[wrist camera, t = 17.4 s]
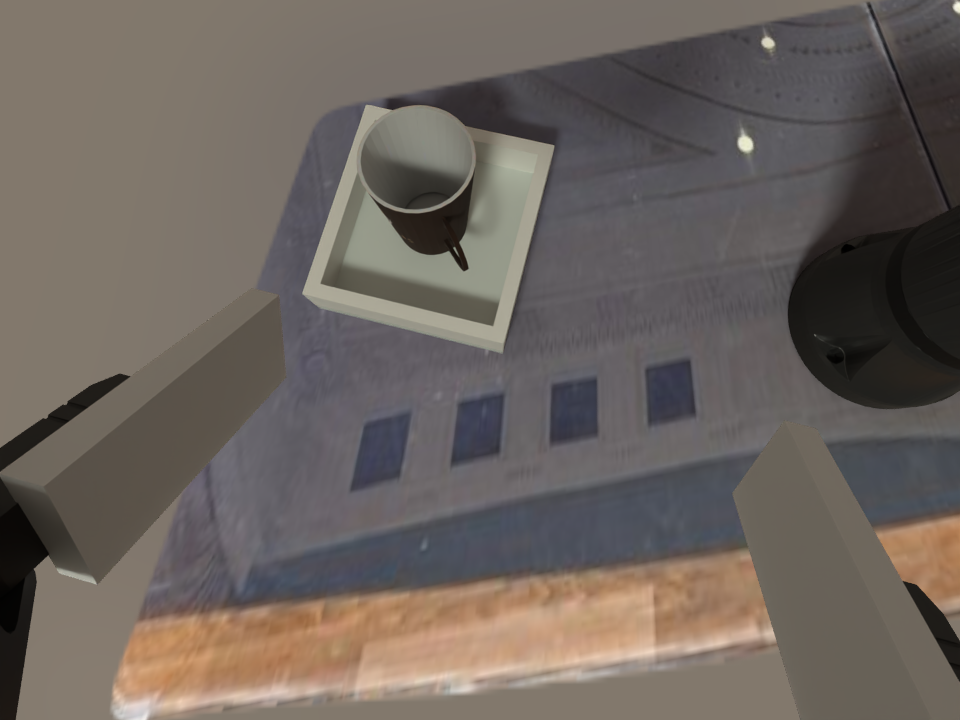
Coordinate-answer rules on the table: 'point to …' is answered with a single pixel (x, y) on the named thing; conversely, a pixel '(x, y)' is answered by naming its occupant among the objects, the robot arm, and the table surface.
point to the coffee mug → (421, 176)
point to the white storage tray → (437, 278)
